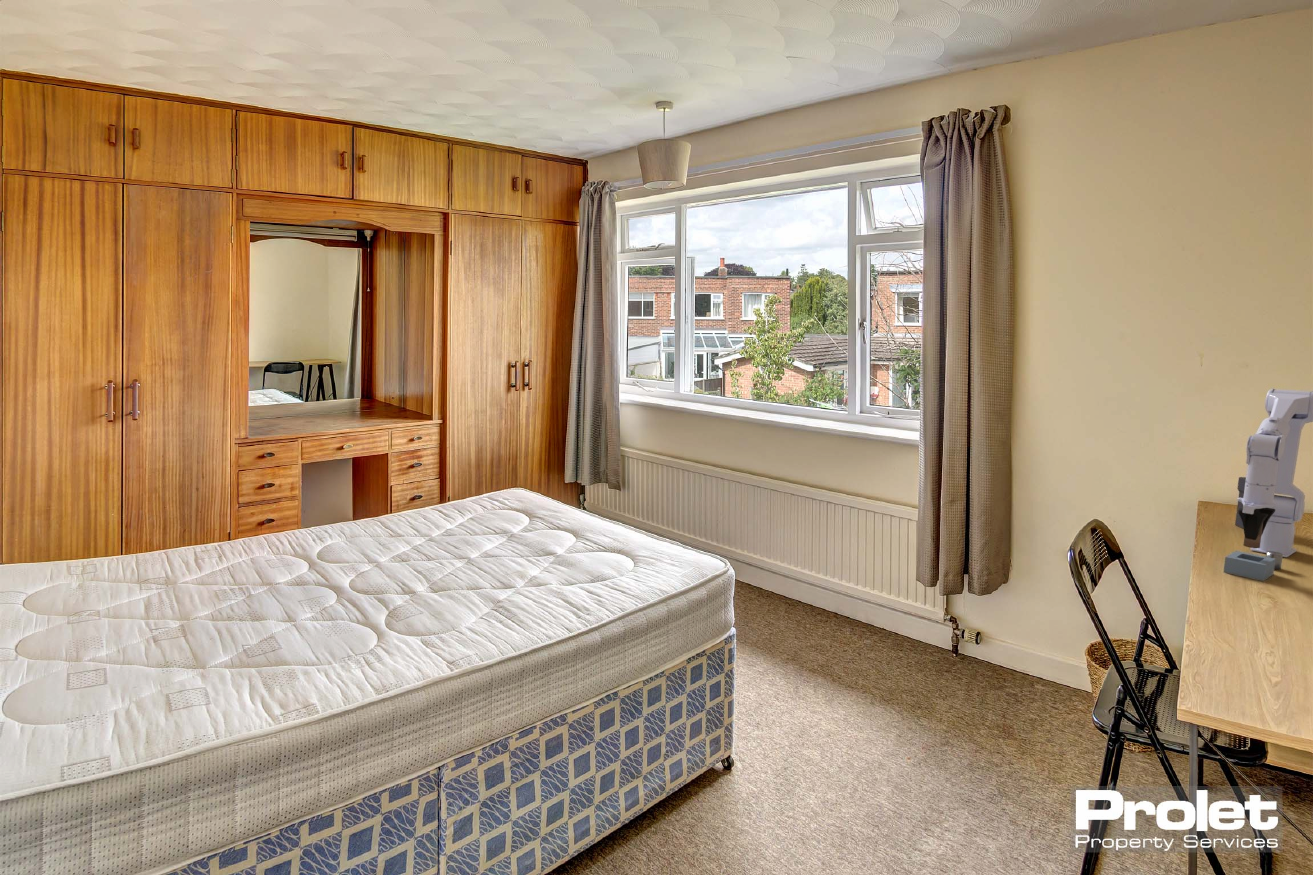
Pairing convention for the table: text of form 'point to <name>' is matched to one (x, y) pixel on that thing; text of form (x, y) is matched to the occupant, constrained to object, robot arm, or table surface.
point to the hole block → (1249, 565)
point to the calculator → (1240, 505)
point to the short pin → (1277, 557)
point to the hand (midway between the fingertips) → (1253, 537)
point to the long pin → (1251, 542)
